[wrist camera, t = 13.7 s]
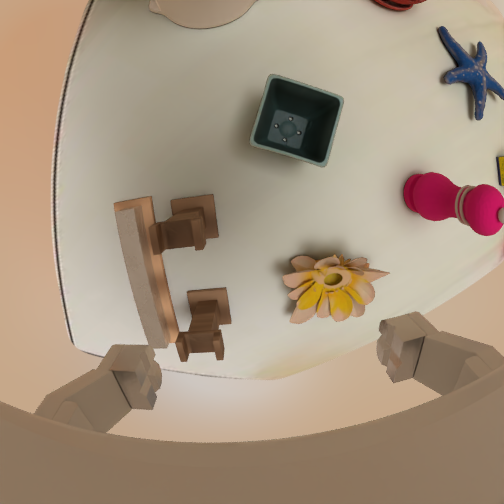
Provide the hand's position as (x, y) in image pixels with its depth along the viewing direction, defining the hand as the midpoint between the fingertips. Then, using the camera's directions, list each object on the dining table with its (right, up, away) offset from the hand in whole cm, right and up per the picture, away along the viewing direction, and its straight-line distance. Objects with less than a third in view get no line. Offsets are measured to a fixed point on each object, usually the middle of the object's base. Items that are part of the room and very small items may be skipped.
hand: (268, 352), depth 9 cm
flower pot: (+4, +20, +27) cm, 34 cm away
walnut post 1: (-9, +8, +30) cm, 32 cm away
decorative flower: (+10, -1, +33) cm, 35 cm away
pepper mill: (+26, +13, +29) cm, 41 cm away
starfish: (+39, +38, +22) cm, 59 cm away
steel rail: (-17, -1, +31) cm, 36 cm away
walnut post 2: (-7, -5, +34) cm, 35 cm away
